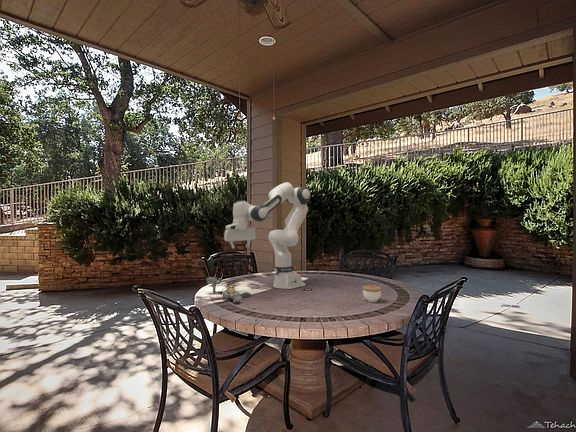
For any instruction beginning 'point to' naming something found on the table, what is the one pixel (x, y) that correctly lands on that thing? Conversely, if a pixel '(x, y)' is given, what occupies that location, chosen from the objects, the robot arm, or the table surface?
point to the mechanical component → (213, 282)
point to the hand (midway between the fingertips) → (240, 247)
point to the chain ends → (235, 296)
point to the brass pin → (231, 289)
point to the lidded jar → (372, 293)
